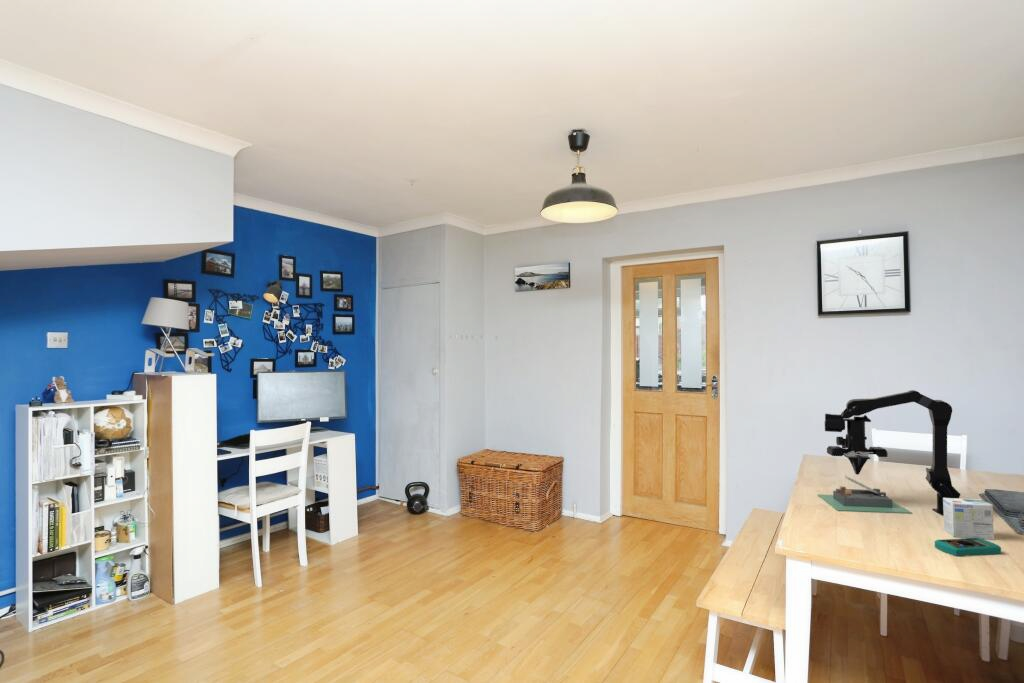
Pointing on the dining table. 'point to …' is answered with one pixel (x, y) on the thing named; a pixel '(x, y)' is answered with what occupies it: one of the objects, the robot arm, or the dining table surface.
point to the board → (840, 507)
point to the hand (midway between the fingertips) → (857, 474)
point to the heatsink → (862, 498)
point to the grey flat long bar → (862, 485)
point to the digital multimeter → (967, 546)
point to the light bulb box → (968, 518)
